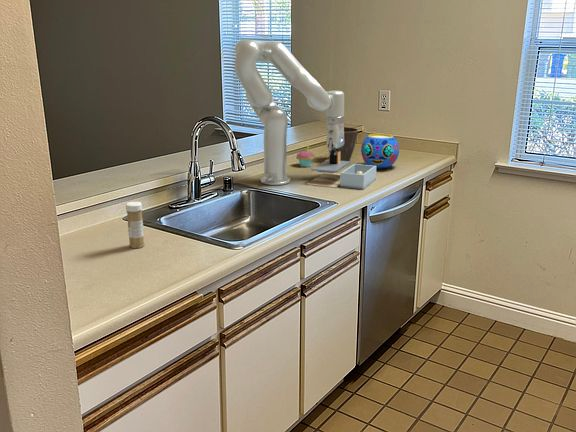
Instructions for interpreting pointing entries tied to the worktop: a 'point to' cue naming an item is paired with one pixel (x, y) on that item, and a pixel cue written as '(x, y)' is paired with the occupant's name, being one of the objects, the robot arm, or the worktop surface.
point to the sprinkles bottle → (135, 224)
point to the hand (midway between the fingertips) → (334, 162)
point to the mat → (326, 180)
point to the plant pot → (348, 143)
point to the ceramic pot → (380, 150)
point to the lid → (331, 165)
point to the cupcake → (305, 157)
